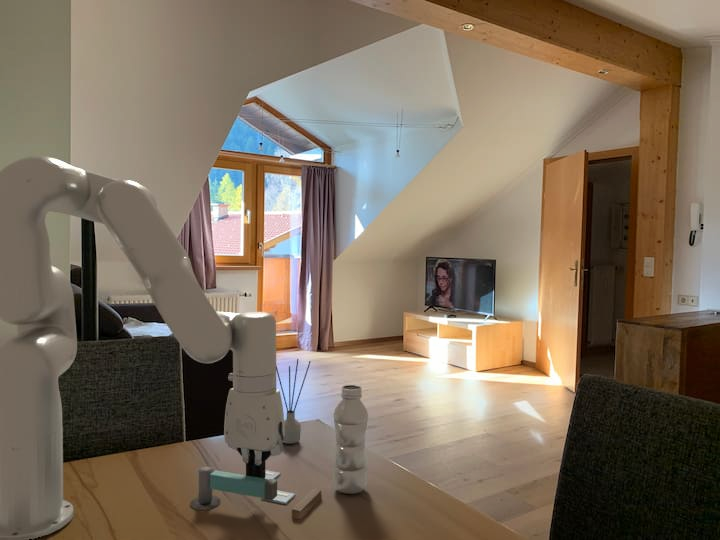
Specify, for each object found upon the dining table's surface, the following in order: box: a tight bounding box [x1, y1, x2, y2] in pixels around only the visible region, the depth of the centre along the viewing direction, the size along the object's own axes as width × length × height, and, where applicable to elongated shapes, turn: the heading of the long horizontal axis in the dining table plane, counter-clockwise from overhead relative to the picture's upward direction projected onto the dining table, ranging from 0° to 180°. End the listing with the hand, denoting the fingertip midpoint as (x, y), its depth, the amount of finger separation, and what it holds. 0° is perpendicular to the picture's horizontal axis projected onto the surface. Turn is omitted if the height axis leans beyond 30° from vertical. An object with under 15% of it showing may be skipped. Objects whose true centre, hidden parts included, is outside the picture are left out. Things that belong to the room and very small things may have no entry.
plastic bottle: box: [332, 384, 369, 495], centre depth 104 cm, size 6×7×20 cm
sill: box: [291, 488, 322, 520], centre depth 98 cm, size 2×8×2 cm, turn 159°
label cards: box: [261, 469, 296, 505], centre depth 106 cm, size 12×11×1 cm
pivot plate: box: [190, 495, 221, 511], centre depth 98 cm, size 5×5×1 cm
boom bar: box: [197, 466, 278, 504], centre depth 96 cm, size 15×2×6 cm, turn 72°
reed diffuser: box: [276, 358, 311, 444], centre depth 127 cm, size 10×7×20 cm
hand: (255, 482), depth 98 cm, fingers closed
